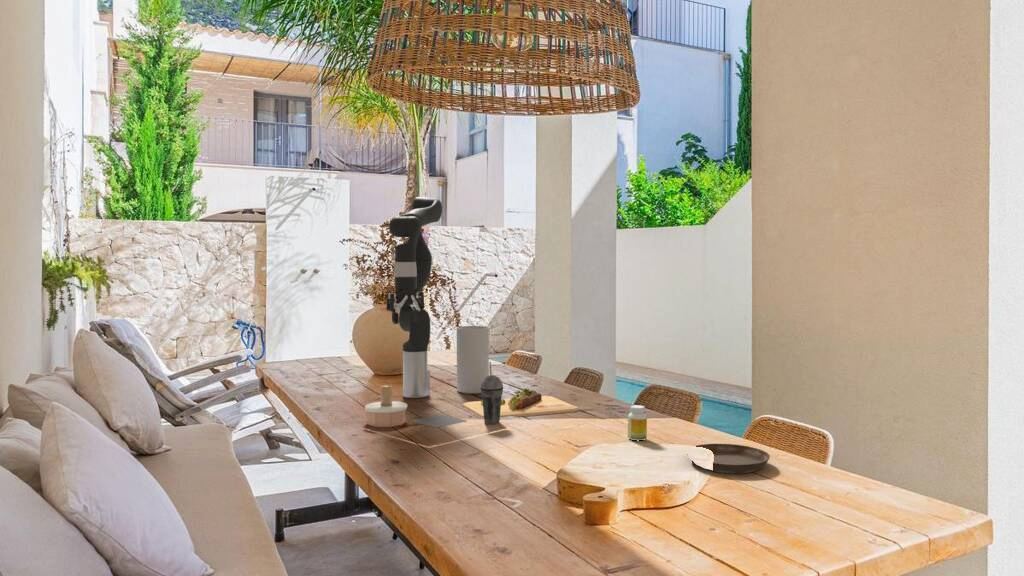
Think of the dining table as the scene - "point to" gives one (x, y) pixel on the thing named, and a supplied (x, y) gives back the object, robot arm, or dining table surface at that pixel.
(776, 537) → the dining table surface
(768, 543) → the dining table surface
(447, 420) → the mat
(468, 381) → the cylinder vase
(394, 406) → the lid
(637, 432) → the supplement bottle
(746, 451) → the plant saucer
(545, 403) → the cutting board
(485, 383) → the beverage cup
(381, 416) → the bowl
